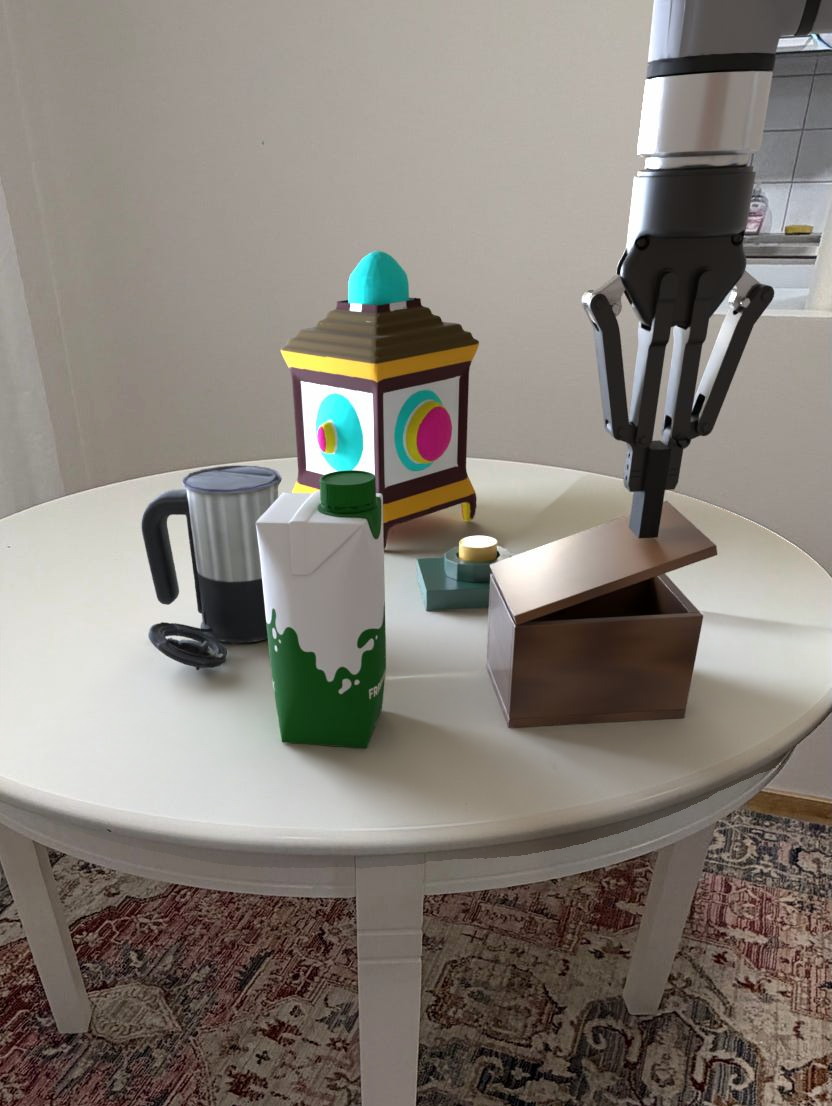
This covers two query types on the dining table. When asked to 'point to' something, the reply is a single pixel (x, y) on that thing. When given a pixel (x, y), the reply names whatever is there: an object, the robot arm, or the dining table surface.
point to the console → (456, 581)
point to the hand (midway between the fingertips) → (643, 532)
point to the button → (478, 548)
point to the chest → (595, 657)
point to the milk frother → (212, 559)
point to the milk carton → (326, 609)
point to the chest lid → (596, 564)
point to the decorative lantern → (384, 396)
